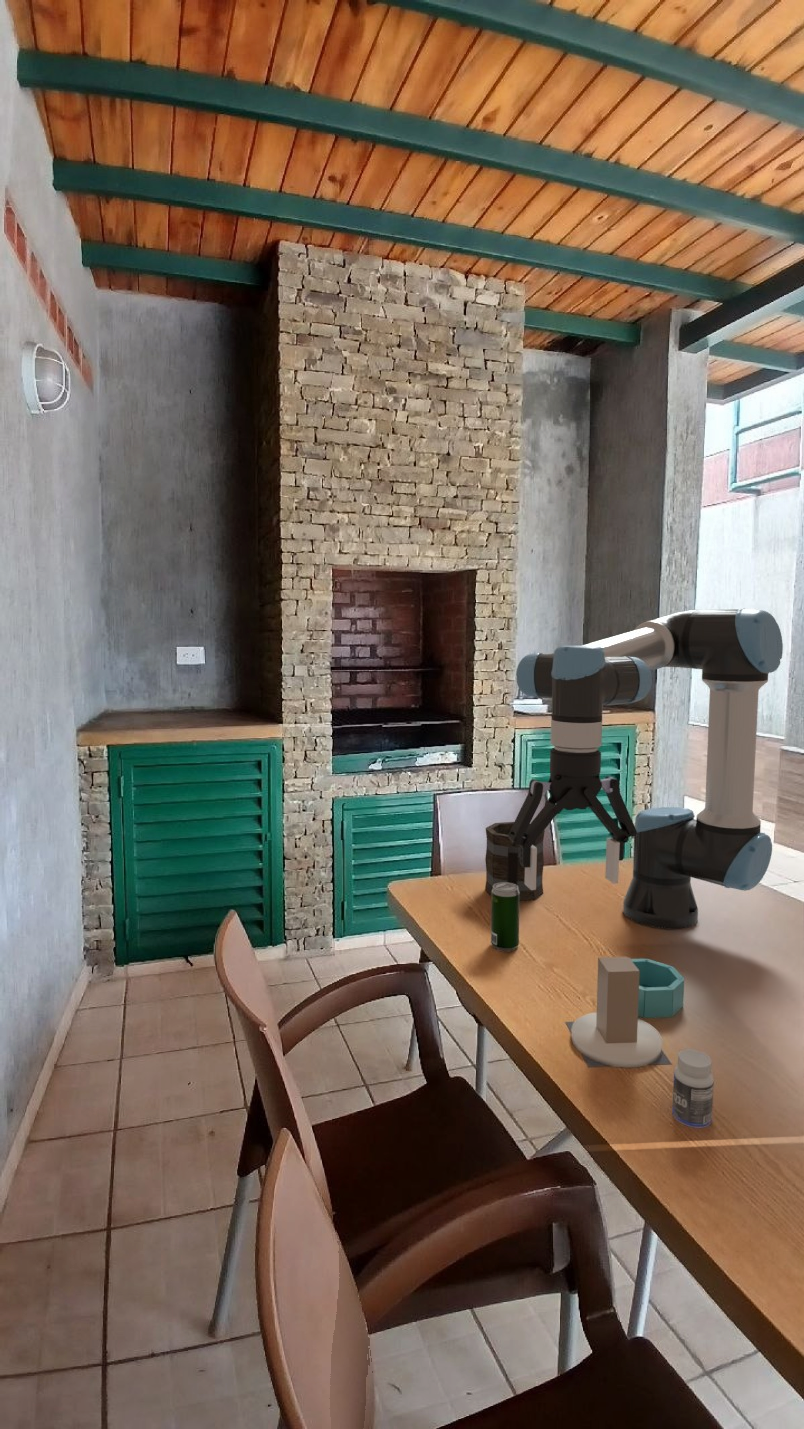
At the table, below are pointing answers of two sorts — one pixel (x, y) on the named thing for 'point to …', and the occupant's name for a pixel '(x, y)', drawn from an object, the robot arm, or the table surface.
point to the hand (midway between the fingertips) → (571, 884)
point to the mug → (510, 862)
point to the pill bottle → (693, 1089)
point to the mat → (591, 1063)
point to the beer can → (505, 916)
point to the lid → (617, 1020)
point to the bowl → (658, 989)
